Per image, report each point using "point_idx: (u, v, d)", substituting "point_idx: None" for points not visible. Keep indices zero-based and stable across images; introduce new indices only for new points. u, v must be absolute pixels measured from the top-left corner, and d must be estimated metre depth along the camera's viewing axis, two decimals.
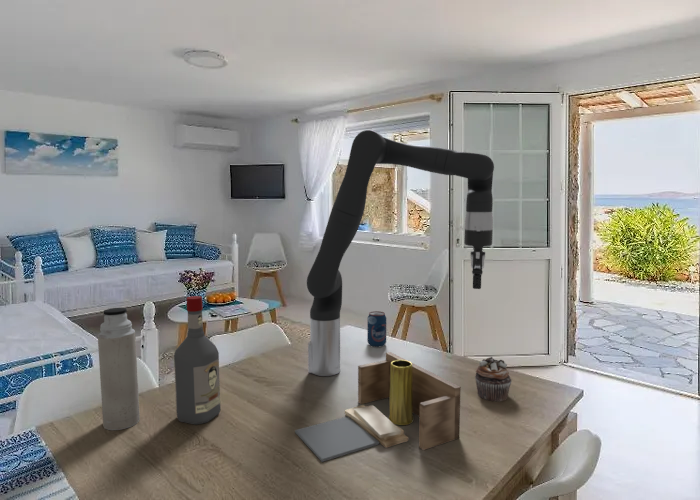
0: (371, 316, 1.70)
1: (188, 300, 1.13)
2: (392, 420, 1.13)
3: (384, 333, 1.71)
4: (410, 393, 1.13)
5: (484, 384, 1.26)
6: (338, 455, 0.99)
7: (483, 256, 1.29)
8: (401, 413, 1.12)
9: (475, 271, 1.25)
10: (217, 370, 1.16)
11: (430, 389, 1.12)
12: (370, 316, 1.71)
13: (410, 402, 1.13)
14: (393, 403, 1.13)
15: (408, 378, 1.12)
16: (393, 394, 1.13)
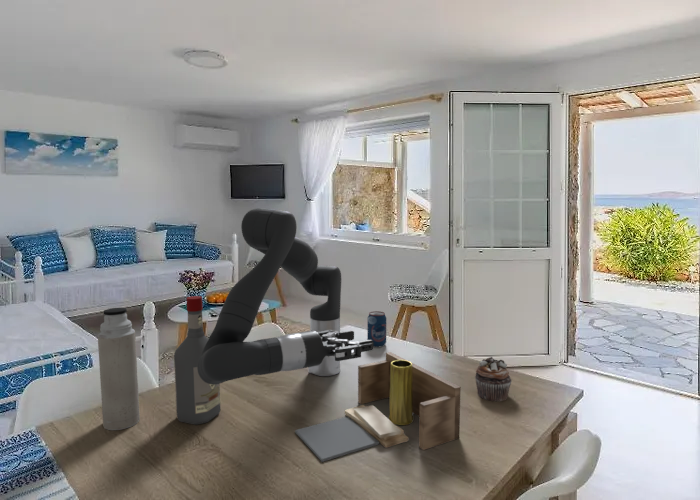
0: (371, 316, 1.70)
1: (188, 300, 1.13)
2: (392, 420, 1.13)
3: (384, 333, 1.71)
4: (410, 393, 1.13)
5: (484, 384, 1.26)
6: (338, 455, 0.99)
7: None
8: (401, 413, 1.12)
9: None
10: None
11: (430, 389, 1.12)
12: (370, 316, 1.71)
13: (410, 402, 1.13)
14: (393, 403, 1.13)
15: (408, 378, 1.12)
16: (393, 394, 1.13)
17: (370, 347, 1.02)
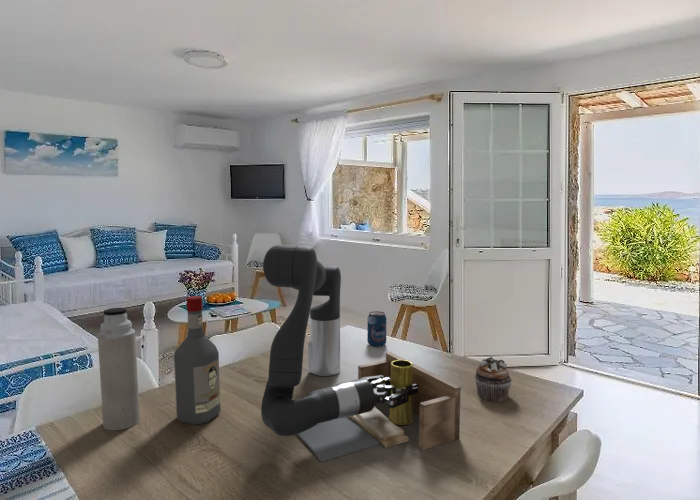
0: (371, 316, 1.70)
1: (188, 300, 1.13)
2: (392, 420, 1.13)
3: (384, 333, 1.71)
4: None
5: (484, 384, 1.26)
6: (338, 455, 0.99)
7: None
8: (401, 413, 1.12)
9: None
10: (217, 370, 1.16)
11: (430, 389, 1.12)
12: (370, 316, 1.71)
13: (410, 402, 1.13)
14: None
15: (408, 378, 1.12)
16: None
17: (415, 391, 1.11)
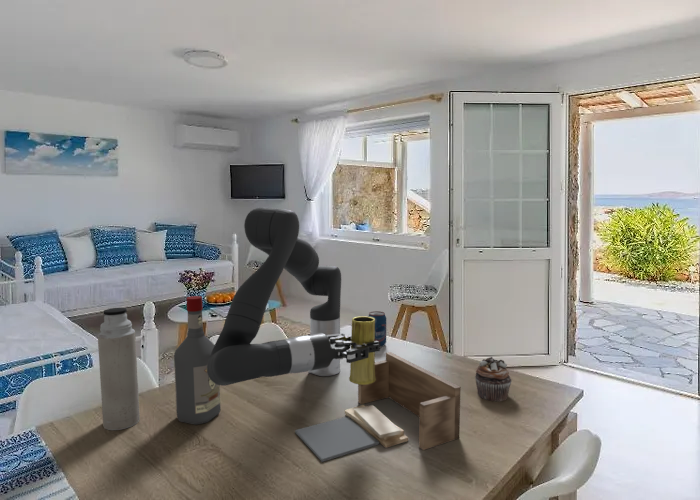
0: (371, 316, 1.70)
1: (188, 300, 1.13)
2: (352, 379, 1.06)
3: (384, 333, 1.71)
4: None
5: (484, 384, 1.26)
6: (338, 455, 0.99)
7: None
8: (362, 371, 1.05)
9: None
10: None
11: (430, 389, 1.12)
12: (370, 316, 1.71)
13: (372, 360, 1.06)
14: None
15: (370, 334, 1.05)
16: None
17: (377, 348, 1.04)
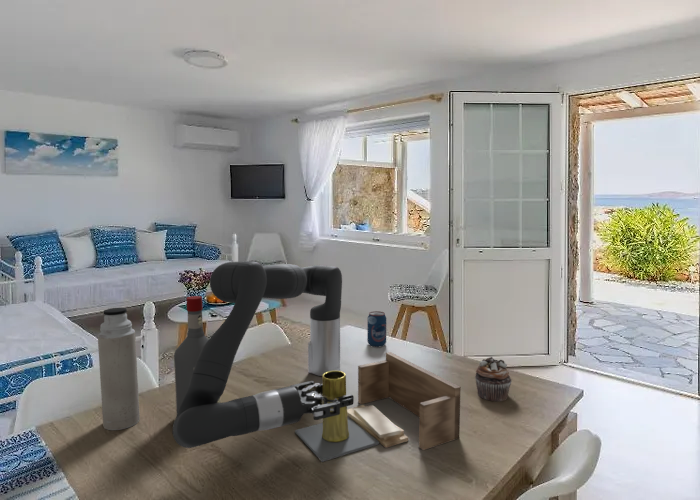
0: (371, 316, 1.70)
1: (188, 300, 1.13)
2: (325, 436, 1.04)
3: (384, 333, 1.71)
4: (343, 407, 1.04)
5: (484, 384, 1.26)
6: (338, 455, 0.99)
7: None
8: (334, 429, 1.03)
9: None
10: None
11: (430, 389, 1.12)
12: (370, 316, 1.71)
13: (344, 417, 1.04)
14: (325, 418, 1.04)
15: (340, 391, 1.03)
16: None
17: (350, 402, 1.01)
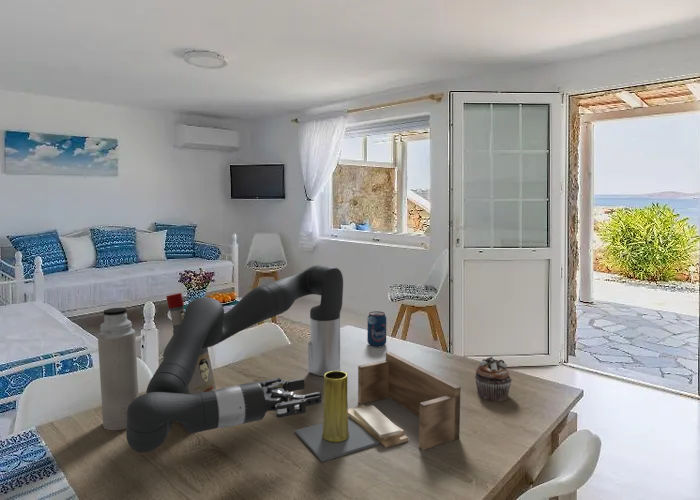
0: (371, 316, 1.70)
1: (168, 297, 1.15)
2: (325, 436, 1.04)
3: (384, 333, 1.71)
4: (344, 407, 1.04)
5: (484, 384, 1.26)
6: (338, 455, 0.99)
7: None
8: (334, 429, 1.03)
9: None
10: (208, 363, 1.17)
11: (430, 389, 1.12)
12: (370, 316, 1.71)
13: (344, 417, 1.04)
14: (325, 418, 1.04)
15: (342, 391, 1.03)
16: (325, 409, 1.04)
17: (317, 401, 0.96)
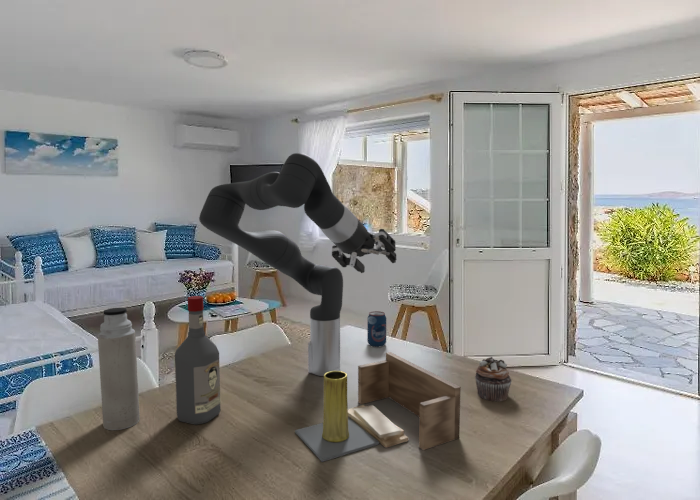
0: (371, 316, 1.70)
1: (189, 300, 1.12)
2: (325, 437, 1.04)
3: (384, 333, 1.71)
4: (344, 407, 1.04)
5: (484, 384, 1.26)
6: (338, 455, 0.99)
7: (351, 254, 1.07)
8: (334, 429, 1.03)
9: None
10: (217, 370, 1.16)
11: (430, 389, 1.12)
12: (370, 316, 1.71)
13: (344, 417, 1.04)
14: (325, 418, 1.04)
15: (341, 391, 1.03)
16: (325, 409, 1.04)
17: (395, 256, 1.10)
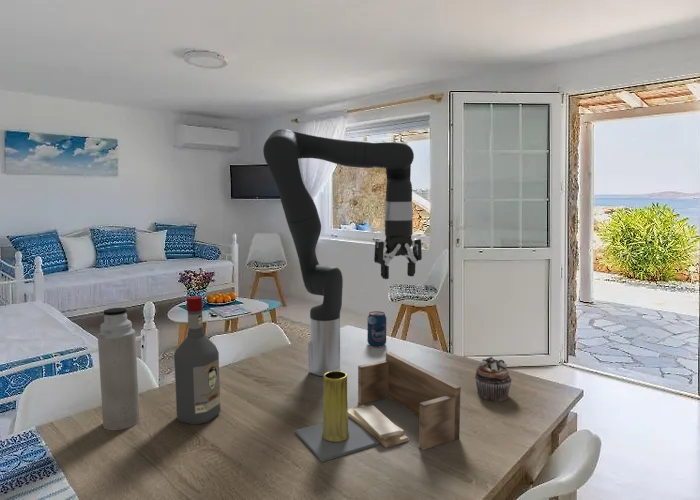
0: (371, 316, 1.70)
1: (188, 300, 1.13)
2: (325, 436, 1.04)
3: (384, 333, 1.71)
4: (344, 407, 1.04)
5: (484, 384, 1.26)
6: (338, 455, 0.99)
7: (394, 247, 1.26)
8: (334, 429, 1.03)
9: (376, 260, 1.26)
10: (217, 370, 1.16)
11: (430, 389, 1.12)
12: (370, 316, 1.71)
13: (344, 417, 1.04)
14: (325, 418, 1.04)
15: (341, 391, 1.03)
16: (325, 409, 1.04)
17: None
